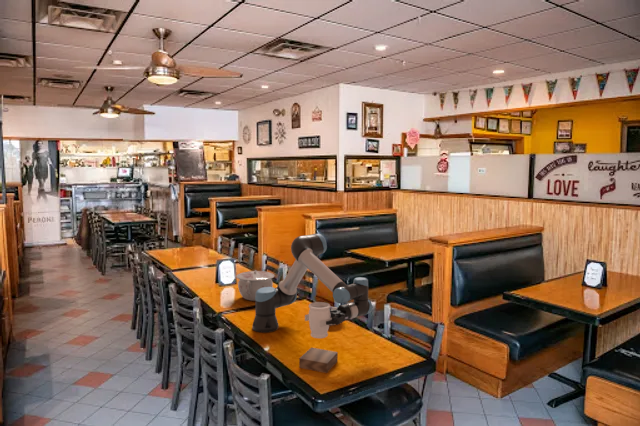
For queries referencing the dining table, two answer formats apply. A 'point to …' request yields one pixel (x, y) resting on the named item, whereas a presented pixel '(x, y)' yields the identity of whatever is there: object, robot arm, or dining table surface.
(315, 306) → the jar
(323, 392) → the dining table surface
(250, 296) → the chamber pot
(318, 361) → the walnut block
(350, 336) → the dining table surface
